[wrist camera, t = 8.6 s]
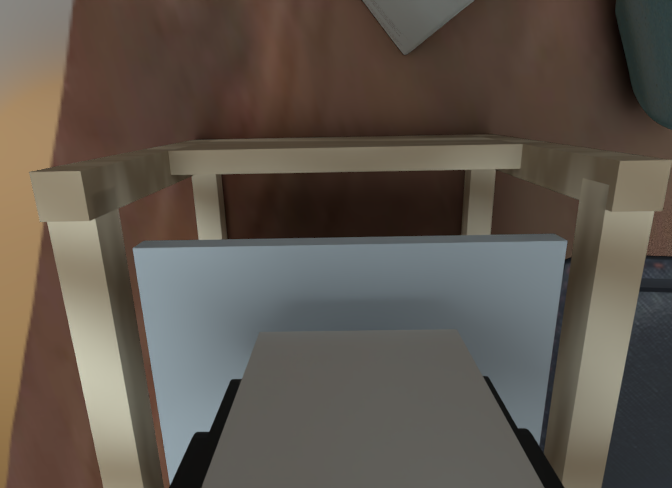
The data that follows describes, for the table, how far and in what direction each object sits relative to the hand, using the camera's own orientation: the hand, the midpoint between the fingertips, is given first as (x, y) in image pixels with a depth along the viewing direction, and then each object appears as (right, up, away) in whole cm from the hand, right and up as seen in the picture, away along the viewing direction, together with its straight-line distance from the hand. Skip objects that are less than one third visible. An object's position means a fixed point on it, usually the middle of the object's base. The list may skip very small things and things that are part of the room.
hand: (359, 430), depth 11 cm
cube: (0, 0, +1) cm, 1 cm away
